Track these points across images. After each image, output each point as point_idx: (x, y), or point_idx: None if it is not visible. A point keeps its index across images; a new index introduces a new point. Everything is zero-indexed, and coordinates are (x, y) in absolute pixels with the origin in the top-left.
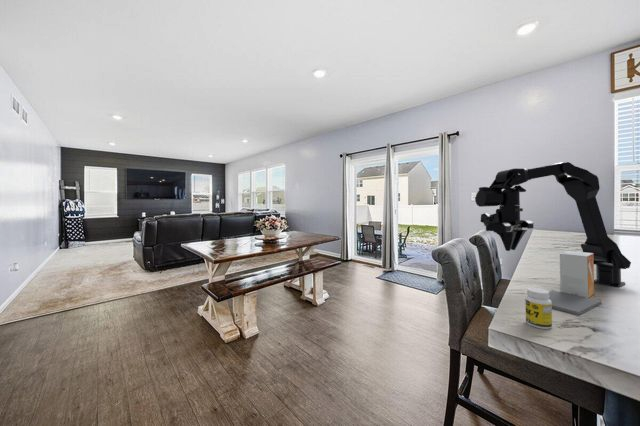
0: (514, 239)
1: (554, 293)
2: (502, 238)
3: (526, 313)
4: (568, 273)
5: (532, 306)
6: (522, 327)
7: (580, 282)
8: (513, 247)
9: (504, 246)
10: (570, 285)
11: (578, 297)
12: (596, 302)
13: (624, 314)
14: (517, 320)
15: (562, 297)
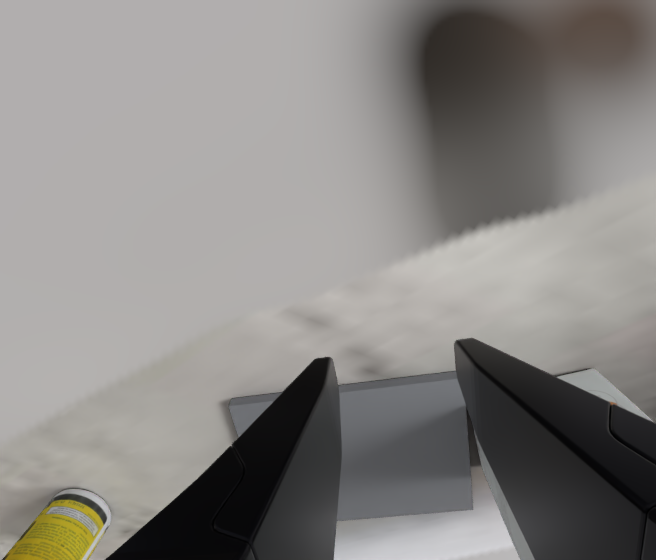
0: (548, 524)
1: (413, 407)
2: (185, 526)
3: (30, 525)
4: (513, 519)
5: None
6: (24, 502)
7: (504, 514)
8: (466, 391)
9: (286, 389)
10: (488, 465)
11: (443, 465)
12: (431, 510)
13: (406, 555)
14: (46, 474)
15: (383, 444)
